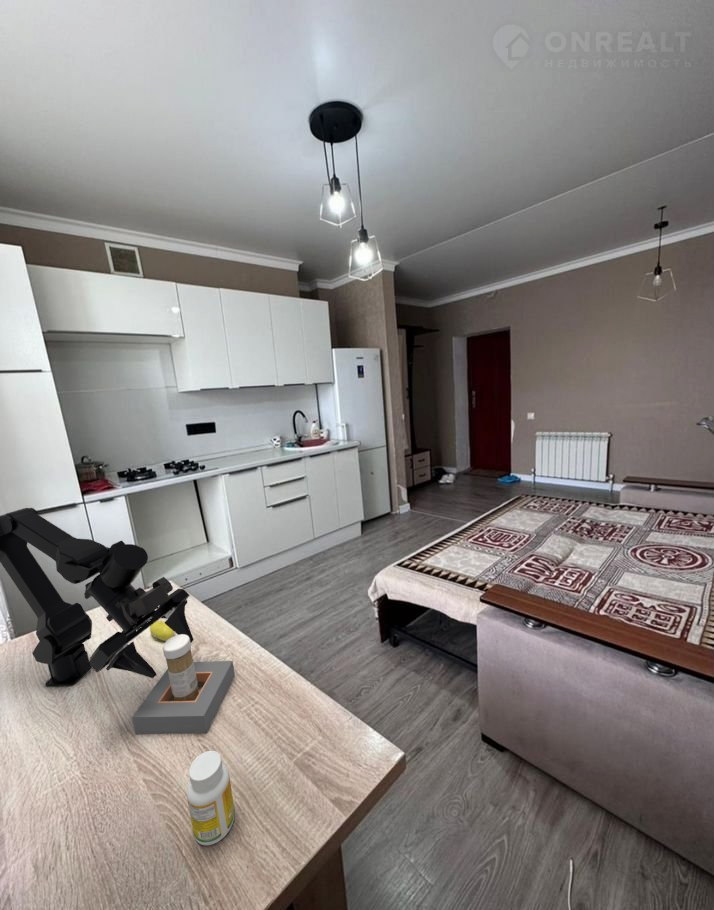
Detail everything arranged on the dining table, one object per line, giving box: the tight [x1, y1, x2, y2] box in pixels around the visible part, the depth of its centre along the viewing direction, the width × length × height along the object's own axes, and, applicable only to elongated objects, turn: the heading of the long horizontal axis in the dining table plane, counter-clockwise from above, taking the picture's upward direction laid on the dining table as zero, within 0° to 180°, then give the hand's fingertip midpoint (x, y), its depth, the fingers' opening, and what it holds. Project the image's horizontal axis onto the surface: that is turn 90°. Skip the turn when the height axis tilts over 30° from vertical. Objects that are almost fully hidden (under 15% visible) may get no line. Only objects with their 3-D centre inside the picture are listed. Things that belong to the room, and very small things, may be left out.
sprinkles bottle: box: [162, 634, 200, 701], centre depth 70 cm, size 5×5×14 cm
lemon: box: [149, 620, 175, 642], centre depth 92 cm, size 4×8×4 cm, turn 53°
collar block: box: [131, 660, 236, 735], centre depth 71 cm, size 13×13×4 cm
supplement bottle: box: [186, 750, 236, 846], centre depth 50 cm, size 5×5×10 cm
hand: (174, 658), depth 70 cm, fingers open, 9 cm apart
